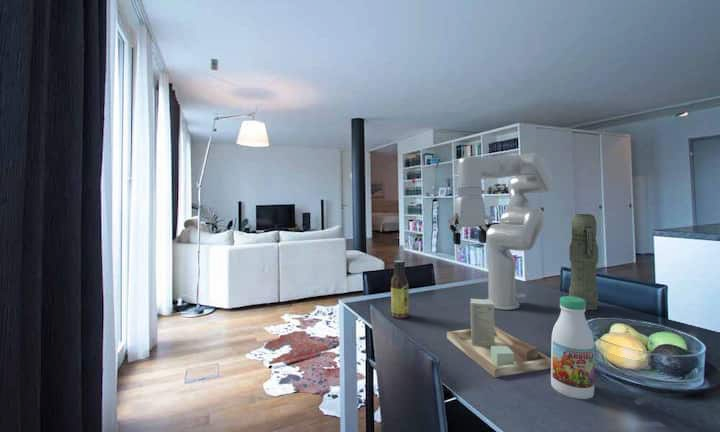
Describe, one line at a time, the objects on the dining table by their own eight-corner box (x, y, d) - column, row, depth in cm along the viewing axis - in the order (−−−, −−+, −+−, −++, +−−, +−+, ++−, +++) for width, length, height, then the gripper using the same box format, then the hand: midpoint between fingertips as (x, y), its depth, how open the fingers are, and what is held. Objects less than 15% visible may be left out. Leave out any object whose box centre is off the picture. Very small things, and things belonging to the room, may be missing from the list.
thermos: (587, 302, 127) (588, 213, 125) (605, 312, 115) (606, 214, 113) (562, 301, 128) (563, 213, 126) (578, 312, 116) (579, 215, 115)
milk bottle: (543, 382, 72) (543, 294, 72) (575, 379, 73) (576, 292, 72) (568, 403, 65) (568, 305, 64) (603, 400, 65) (605, 303, 65)
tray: (494, 333, 99) (494, 325, 99) (553, 369, 77) (553, 359, 77) (447, 340, 95) (446, 331, 95) (494, 379, 74) (494, 369, 74)
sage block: (506, 361, 81) (506, 345, 80) (514, 369, 77) (514, 353, 76) (490, 361, 81) (490, 346, 81) (497, 370, 77) (497, 353, 77)
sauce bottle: (408, 319, 112) (407, 263, 111) (390, 318, 113) (389, 262, 113) (409, 313, 119) (408, 259, 118) (392, 312, 120) (391, 259, 119)
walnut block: (523, 356, 83) (523, 341, 83) (537, 363, 79) (537, 348, 79) (512, 360, 81) (512, 344, 81) (526, 367, 78) (526, 351, 77)
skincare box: (493, 341, 92) (493, 299, 92) (495, 348, 88) (494, 304, 88) (470, 338, 94) (470, 297, 94) (470, 345, 90) (470, 302, 90)
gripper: (485, 193, 115) (485, 241, 116) (441, 194, 111) (441, 243, 112) (499, 192, 108) (499, 243, 109) (452, 193, 104) (452, 246, 105)
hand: (469, 243), depth 110 cm, fingers open, 9 cm apart
